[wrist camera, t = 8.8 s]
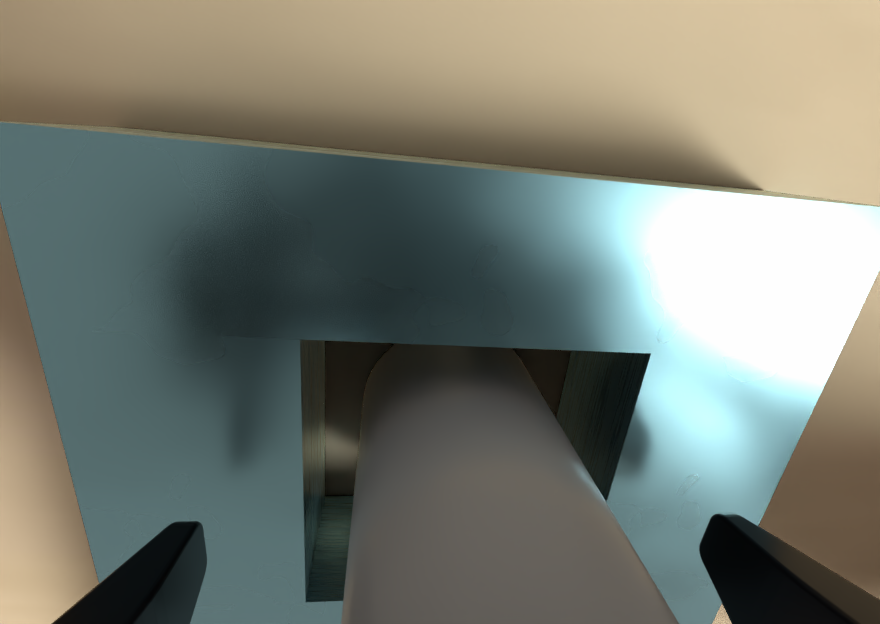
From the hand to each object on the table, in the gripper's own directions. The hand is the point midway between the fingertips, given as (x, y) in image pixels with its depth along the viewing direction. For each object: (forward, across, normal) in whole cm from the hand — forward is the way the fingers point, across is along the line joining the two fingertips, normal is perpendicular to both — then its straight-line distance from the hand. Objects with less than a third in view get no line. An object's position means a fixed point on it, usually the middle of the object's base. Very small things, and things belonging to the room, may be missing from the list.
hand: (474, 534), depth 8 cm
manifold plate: (+4, 0, +5) cm, 6 cm away
